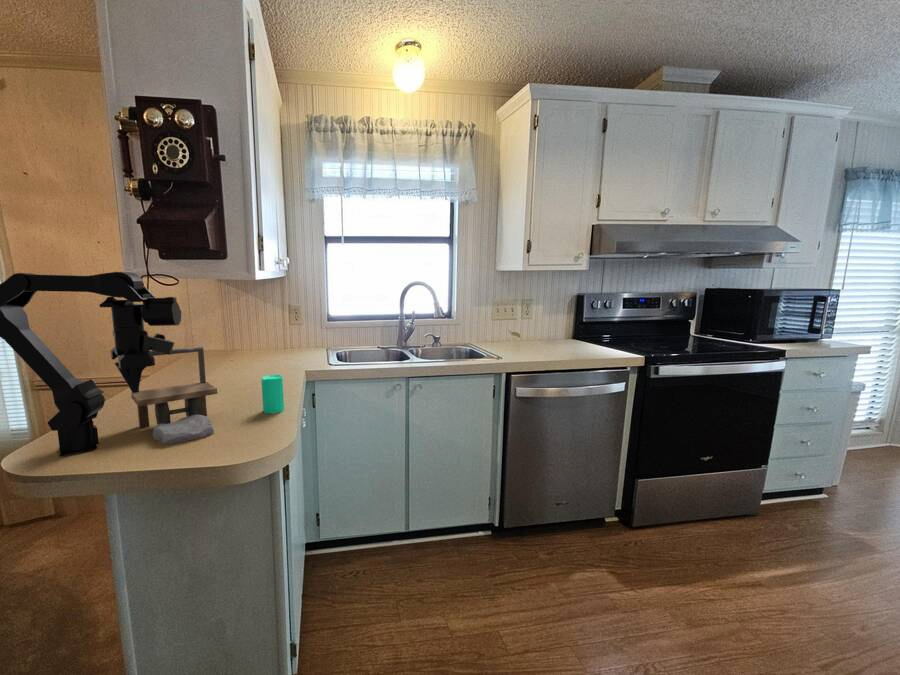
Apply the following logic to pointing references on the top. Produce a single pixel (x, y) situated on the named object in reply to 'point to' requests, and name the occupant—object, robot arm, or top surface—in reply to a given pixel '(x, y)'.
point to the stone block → (183, 429)
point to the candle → (272, 393)
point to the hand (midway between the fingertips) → (135, 392)
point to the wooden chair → (175, 394)
